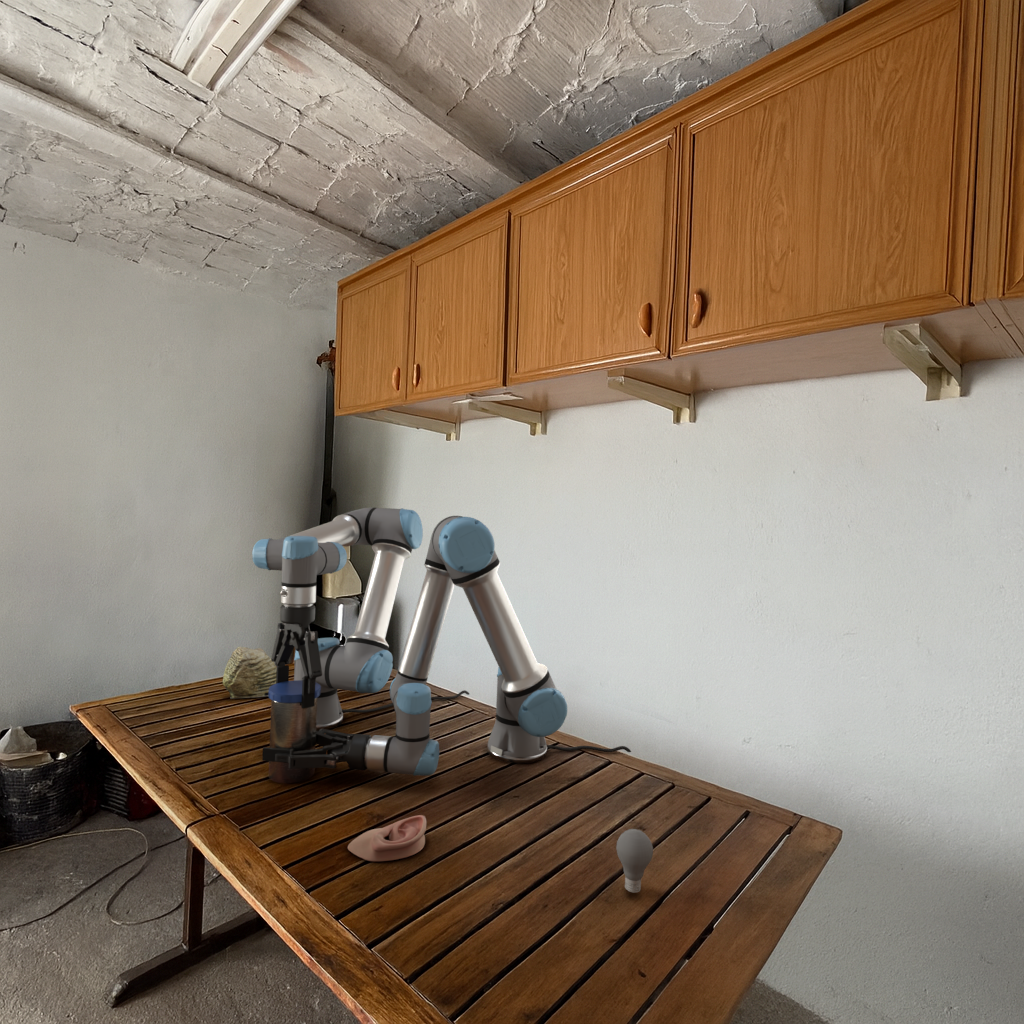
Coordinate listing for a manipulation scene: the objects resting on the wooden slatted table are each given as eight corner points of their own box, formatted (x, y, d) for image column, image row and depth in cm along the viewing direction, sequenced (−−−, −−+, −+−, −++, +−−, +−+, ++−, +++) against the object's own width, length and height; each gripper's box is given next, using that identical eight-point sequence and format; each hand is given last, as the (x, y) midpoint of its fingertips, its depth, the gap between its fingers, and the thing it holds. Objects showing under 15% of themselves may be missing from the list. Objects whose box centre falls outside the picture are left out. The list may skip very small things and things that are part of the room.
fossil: (218, 695, 195) (220, 647, 195) (278, 685, 208) (279, 640, 207) (228, 703, 189) (230, 653, 188) (289, 692, 201) (290, 645, 201)
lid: (264, 703, 137) (265, 695, 137) (271, 688, 148) (271, 680, 148) (318, 702, 140) (319, 694, 140) (321, 687, 151) (321, 679, 151)
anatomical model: (340, 834, 112) (368, 804, 123) (339, 856, 112) (367, 824, 123) (411, 845, 109) (433, 813, 120) (410, 868, 109) (432, 834, 120)
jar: (260, 773, 143) (263, 689, 143) (299, 760, 151) (302, 680, 151) (283, 787, 137) (287, 699, 137) (323, 773, 145) (326, 690, 144)
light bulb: (610, 879, 108) (613, 822, 108) (644, 879, 109) (647, 822, 109) (619, 902, 102) (622, 840, 102) (655, 901, 103) (658, 840, 103)
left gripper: (258, 598, 149) (254, 691, 149) (309, 614, 133) (305, 717, 133) (288, 596, 154) (284, 685, 155) (341, 610, 138) (337, 710, 139)
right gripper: (351, 792, 131) (248, 782, 133) (383, 749, 154) (295, 742, 156) (352, 756, 131) (250, 747, 133) (385, 719, 153) (296, 712, 156)
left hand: (294, 700), depth 144 cm, fingers closed on lid, 11 cm apart
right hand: (274, 744), depth 144 cm, fingers closed on jar, 10 cm apart
